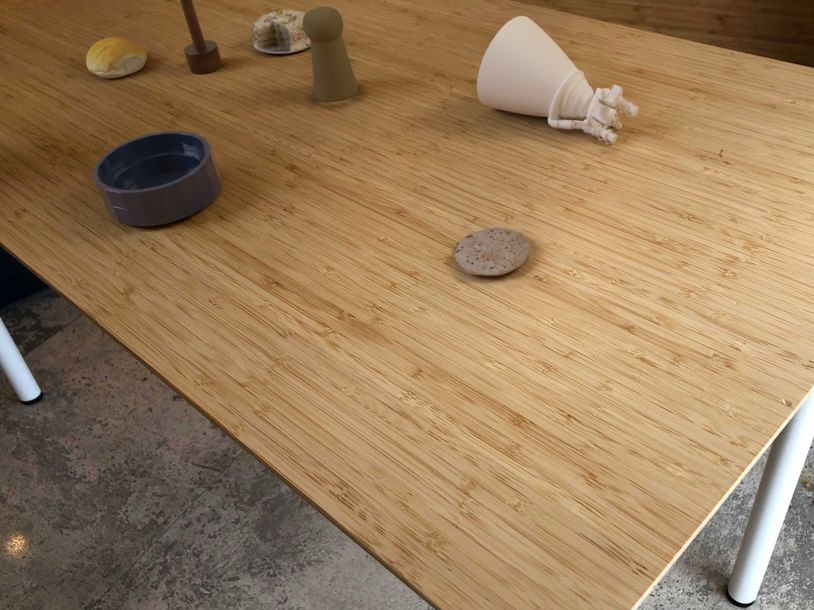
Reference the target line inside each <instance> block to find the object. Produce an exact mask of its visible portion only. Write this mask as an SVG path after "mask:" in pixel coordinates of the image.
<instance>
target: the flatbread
mask: <svg viewBox="0 0 814 610" xmlns="http://www.w3.org/2000/svg"><path fill="white" fill-rule="evenodd" d="M531 248H532V247H531V244H530V242H529V239H528V237H527V236H526V235H525V234H524V233H522V232H521V231H517V230H513V229H509V228H504V227H496V226H494V227H487V228H484V229H481V230H477V231H474V232H471V233H470V234H467V235H466V236H464V237H462V239H461V240H460V242H459V243H458V245H457V247H456V249H455V253H454V258H455V261H456V264H457V265H458V266H459V267H460V269H462V270H463V271H464V272H465V273H466V274H467V275H470V276H481V277H482V276H484V277H495V276H497V277H498V276H503V275H507V274H509V273H510V272H512V271H515V270H517V269H519V268H520V267H521V266H522V265H524V264H526V261H527V260H528V258H529V255H530V253H531Z"/></svg>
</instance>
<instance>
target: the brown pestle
mask: <svg viewBox="0 0 814 610" xmlns="http://www.w3.org/2000/svg"><path fill="white" fill-rule="evenodd" d="M179 2H180V5H181V9H182V11H183V15H184V18H185V22H186V25H187V29H188V31H189V35H190V38H191V41H192V43H189V44H188V45H186V46H185V47H184V49H183V53H184V56H185V59H186V62H187V66H188V69H189V71H190V72H191V73H192V74H194V75H195V74H196V75H206V74H210V73H214V72H216V71H218V70H219V69H221V68H222V66H223V60H222V56H221V54H220V50H219V47H218V46H219V45H218V43H217V42H216V41H213V40H208V39H207V40H206V39H205V38H204V35H203V32H202V28H201V25H200V21H199V18H198V15H197V12H196V9H195V5H194V2H193V0H179Z"/></svg>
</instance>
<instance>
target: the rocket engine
mask: <svg viewBox="0 0 814 610" xmlns="http://www.w3.org/2000/svg"><path fill="white" fill-rule="evenodd" d="M623 93H624V89H623V88H622V87H621V86H619V85H618V84H613V85H612V87H611V88H609V87H608V88H606V87H603V88H601V87H597V88H596V90H595V92H594V91H593V87H592V86H590V84H589V82H588V79H587V78H586V77H585V74H584V72H583V71H582V70H580V69H578V67H577V66H576V64H574V62H573V61H572V60H571V59H570V58H569V56H568V55H567V54H566V53H565V52H564V51H563V49H562V48H561V47H560V45H558V44H557V42H555V41H554V40H553V38H552V37H551V36H549V34H548V33H547V32H545V31H544V30H543V28H541V27H540V26H539V24H537V23H536V22H535V21H534V20H532V19H531V18H530V17H528V16H526V15H518V16H516V17H513V18H512V19H510V20H509V21H507V22H506V23H505V24H504V25H502V27H501V28H500V30H498V32H497V33H496V34H495V36H493V39H492V40H491V41H490V44H489V45H488V46H487V48H486V51H485V53H484V55H483V58H482V60H481V63H480V66H479V69H478V74H477V80H476V94H477V98H478V100H479V102H480V103H481V104H482V105H484V106H485V107H489V108H492V109H497V110H499V111H500V110H501V111H504V112H508V113H513V114H520V115H525V116H533V117H542V118H543V117H544V118H547V123H548V125H549V126H550V127H552V128H553V129H557V130H559V129H563V130H571V131H572V130H573V129H574V130H575V129H576V130H582V131H583V132H584V133H585V134H589V135H591V136H593V137H596V138H598V141H604V142H605V144H606V145H613V144H614V143H615V142H616V141H617V139H618V136H619V135H618V134H617V133H616V132H614V131H613V130H612V129H608V128H609V127H613V128H614V130H621V129H622V125H623V124H622V123H621V122H620V121H619V119H620V118H619V116H618V115H619V114H618V112H617V110H618V109H619V113H620V114H622V113H625V114H626V115H627V117H628V118H630V117H631V118H632V117H633V118H634V117H636V116H637V115H638V113H639V111H640V107H639V105H637V104H635V103H634V102H632V101H629V100H628V99H626V98H624V97H623V96H622V95H623ZM602 103H605V104H602ZM628 113H629V114H630V115H629V114H628ZM573 119H574V120H573ZM576 119H583V121H582V120H576ZM600 137H601V138H600Z"/></svg>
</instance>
